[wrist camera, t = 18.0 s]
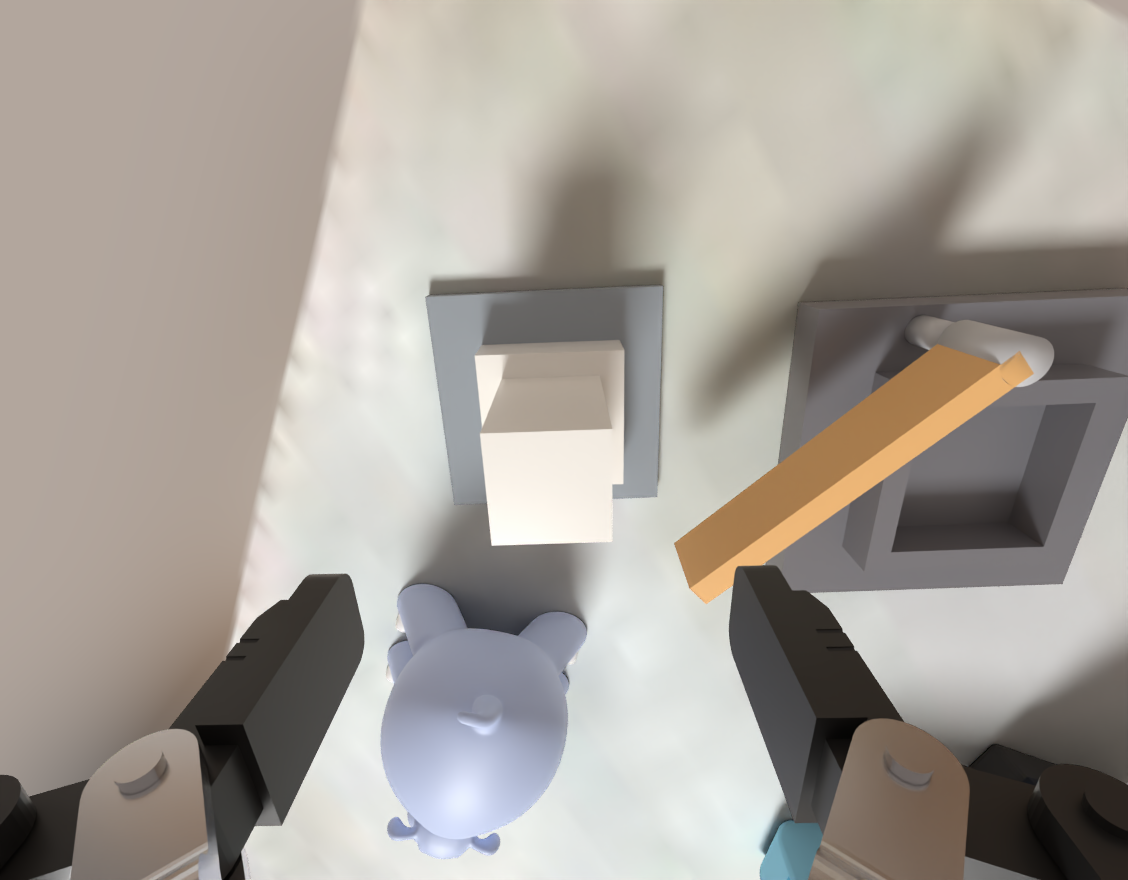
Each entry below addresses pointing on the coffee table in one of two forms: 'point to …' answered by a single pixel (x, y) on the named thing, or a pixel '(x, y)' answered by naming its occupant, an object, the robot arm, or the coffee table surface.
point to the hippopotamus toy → (472, 720)
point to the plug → (551, 439)
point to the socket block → (961, 443)
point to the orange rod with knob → (862, 449)
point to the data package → (791, 852)
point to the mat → (542, 320)
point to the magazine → (1011, 764)
